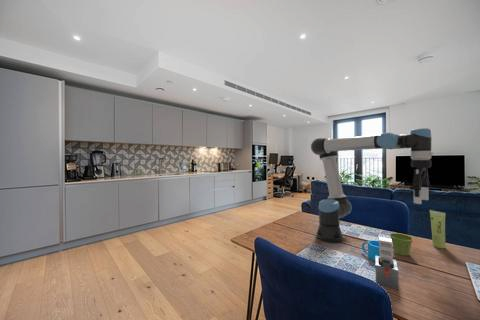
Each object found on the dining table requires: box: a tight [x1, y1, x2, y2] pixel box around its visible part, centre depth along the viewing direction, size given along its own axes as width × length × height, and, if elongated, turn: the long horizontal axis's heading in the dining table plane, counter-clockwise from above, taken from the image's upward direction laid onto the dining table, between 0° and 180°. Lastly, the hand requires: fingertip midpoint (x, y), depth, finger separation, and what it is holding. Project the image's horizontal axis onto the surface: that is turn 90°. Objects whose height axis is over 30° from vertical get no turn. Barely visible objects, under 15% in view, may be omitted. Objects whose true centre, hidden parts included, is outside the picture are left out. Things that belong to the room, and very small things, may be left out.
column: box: [378, 236, 394, 268], centre depth 76 cm, size 4×6×16 cm
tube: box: [429, 209, 447, 249], centre depth 106 cm, size 6×5×20 cm
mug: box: [361, 239, 380, 262], centre depth 95 cm, size 12×8×8 cm
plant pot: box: [389, 232, 414, 257], centre depth 100 cm, size 9×9×9 cm
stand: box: [375, 256, 400, 290], centre depth 76 cm, size 18×12×10 cm, turn 55°
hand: (421, 201), depth 97 cm, fingers open, 13 cm apart
